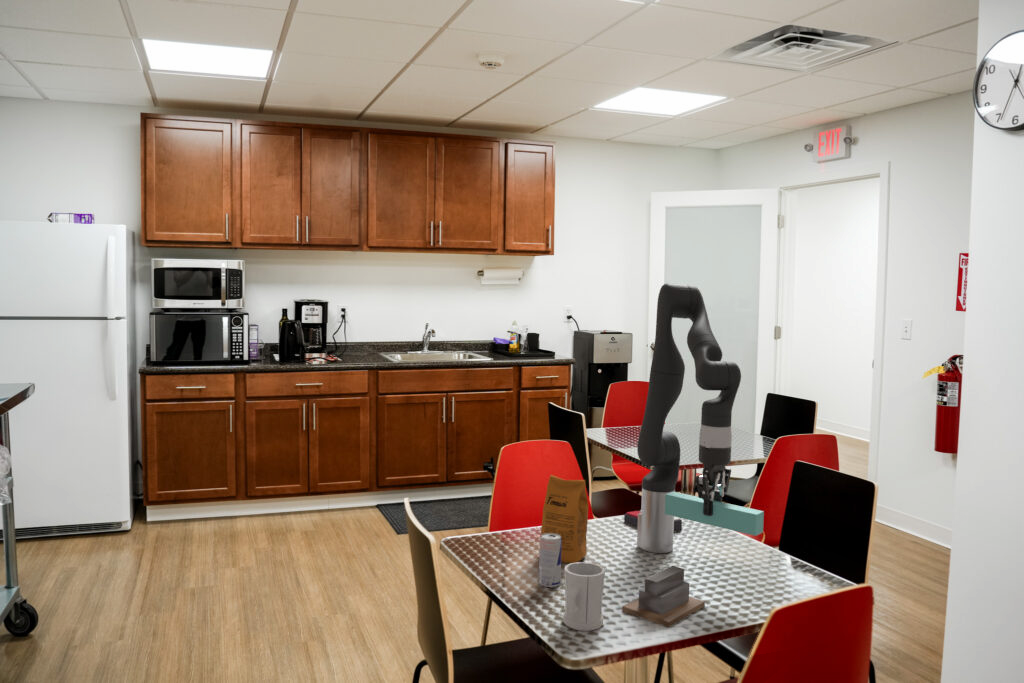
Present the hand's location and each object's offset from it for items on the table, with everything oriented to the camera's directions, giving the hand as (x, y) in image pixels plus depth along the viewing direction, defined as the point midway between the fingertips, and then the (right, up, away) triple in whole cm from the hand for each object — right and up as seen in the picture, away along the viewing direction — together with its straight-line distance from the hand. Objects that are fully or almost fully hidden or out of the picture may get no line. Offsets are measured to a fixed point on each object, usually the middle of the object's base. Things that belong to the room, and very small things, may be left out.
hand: (712, 513), depth 187 cm
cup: (-33, -20, -20) cm, 44 cm away
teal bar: (0, -2, 0) cm, 2 cm away
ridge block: (-14, -19, -11) cm, 26 cm away
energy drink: (-39, -18, +3) cm, 44 cm away
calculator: (-5, -17, +53) cm, 56 cm away
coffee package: (-35, -17, +23) cm, 45 cm away
